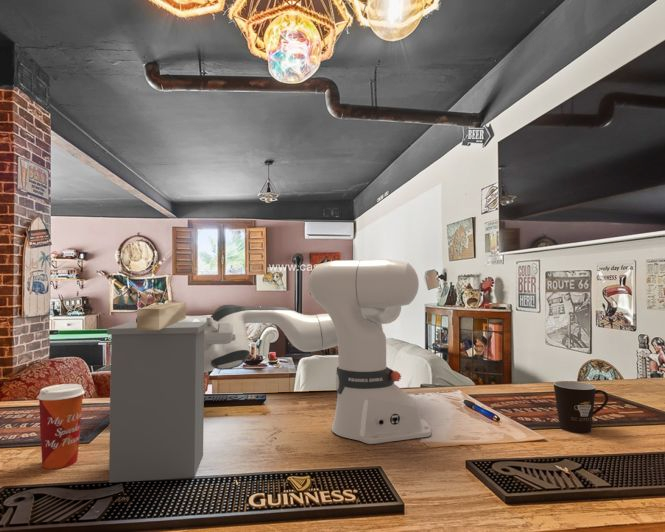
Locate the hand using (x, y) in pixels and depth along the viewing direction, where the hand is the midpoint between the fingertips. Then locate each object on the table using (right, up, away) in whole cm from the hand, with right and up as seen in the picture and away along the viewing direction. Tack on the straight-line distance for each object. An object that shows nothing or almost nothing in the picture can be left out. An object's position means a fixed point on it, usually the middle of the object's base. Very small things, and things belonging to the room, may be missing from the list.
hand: (189, 320), depth 109 cm
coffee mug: (+93, -24, -8) cm, 96 cm away
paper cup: (-16, -24, -27) cm, 39 cm away
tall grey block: (+4, -23, -29) cm, 37 cm away
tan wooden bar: (+3, +3, -25) cm, 26 cm away
